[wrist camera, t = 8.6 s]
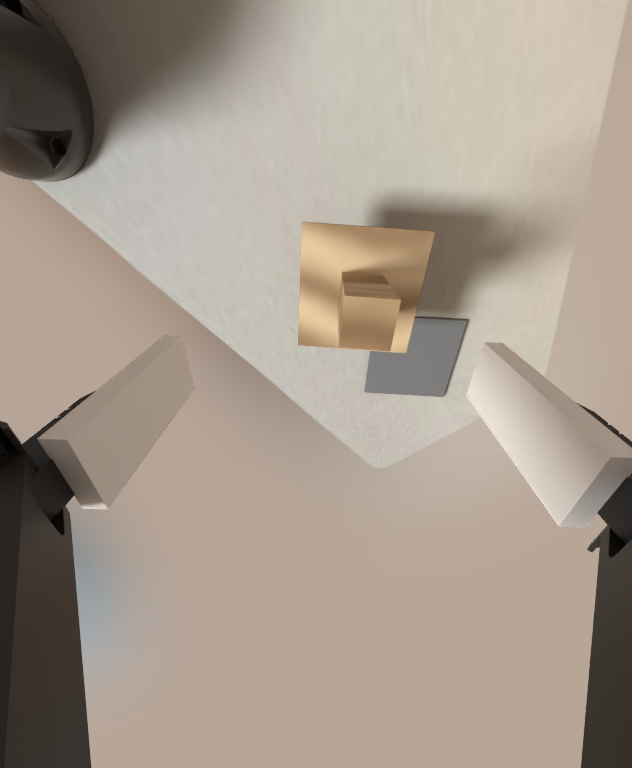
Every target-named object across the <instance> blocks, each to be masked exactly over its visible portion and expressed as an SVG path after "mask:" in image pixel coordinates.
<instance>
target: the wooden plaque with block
mask: <svg viewBox="0 0 632 768" xmlns="http://www.w3.org/2000/svg"><path fill="white" fill-rule="evenodd" d="M434 235H435V232H434V231H424V230H410V229H396V228H383V227H369V226H355V225H341V224H327V223H313V222H302V241H301V273H300V304H299V335H298V345H304V346H317V347H330V348H343V349H356V350H369V351H382V352H395V353H406V351H407V347H408V343H409V339H410V335H411V330H412V326H413V322H414V318H415V314H416V310H417V306H418V301H419V297H420V293H421V289H422V285H423V281H424V277H425V272H426V268H427V264H428V260H429V256H430V252H431V247H432V243H433V239H434Z"/></svg>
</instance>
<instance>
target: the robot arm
mask: <svg viewBox="0 0 632 768" xmlns="http://www.w3.org/2000/svg"><path fill="white" fill-rule="evenodd" d="M92 136H93V117H92V108H91V103H90V98H89V94H88V90H87V87H86V84H85V81H84V78H83V75H82V73H81V70H80V68H79V65H78V63H77V61H76V59H75V57H74V55H73V53H72V51H71V49H70V48H69V46H68V44H67V43H66V41H65V39H64V38H63V36H62V35H61V33H60V32H59V30H58V29H57V28H56V26H55V25H54V24H53V22H52V21H51V20H50V19H49V18H48V16H47V15H46V14H45V13H44V12H43V11H42V10H41V9H40V7H39V6H38V5H36V4H35V3H34V2H33V1H32V0H0V171H1V172H3V173H5V174H8V175H11V176H14V177H17V178H21V179H27V180H35V181H46V182H53V181H60V180H63V179H66V178H68V177H70V176H72V175H73V174H74V173H76V172H77V171H78V170H79V169H80V168H81V166H82V165H83V164H84V162H85V160H86V158H87V156H88V154H89V151H90V147H91V143H92ZM194 389H195V388H194V384H193V380H192V376H191V372H190V368H189V364H188V361H187V356H186V352H185V348H184V344H183V340H182V336H163V337H162V338H161V339H159V340H158V341H157V342H156V343H154V344H153V345H152V346H151V347H150V348H148V349H147V350H146V351H145V352H143V353H142V354H141V355H140V356H138V357H137V358H136V359H135V360H134V361H132V362H131V363H130V364H129V365H127V366H126V367H125V368H124V369H123V370H121V371H120V372H119V373H118V374H116V375H115V376H114V377H113V378H111V379H110V380H109V381H108V382H106V383H105V384H104V385H103V386H102V387H101V388H99V389H98V390H97V391H94V392H92V393H90V394H88V395H86V396H84V397H82V398H80V399H79V400H78V401H76V402H75V403H74V404H73V405H71V406H70V407H69V408H68V410H65V411H64V412H62V413H61V414H60V415H59V416H58V418H55V419H54V420H52V421H51V422H50V423H48V424H47V425H46V426H45V427H43V428H42V429H41V430H40V431H38V432H37V433H36V434H35V435H33V436H32V437H31V438H29V439H28V440H27V441H26V442H24V443H23V444H21V442H20V441H19V439H18V438H17V437H16V435H15V434H14V433H13V431H12V429H11V428H10V427H9V425H8V424H7V423H5V422H1V421H0V768H91V760H90V748H89V735H88V723H87V711H86V700H85V688H84V676H83V664H82V653H81V640H80V628H79V616H78V604H77V593H76V580H75V568H74V558H73V557H74V556H73V546H72V545H73V544H72V533H71V521H70V513H69V511H68V509H67V508H66V506H65V505H66V504H67V503H68V502H69V501H70V499H71V498H72V497H73V496H75V497H76V499H77V500H78V502H79V503H80V505H81V506H82V508H89V509H108V508H109V507H110V506H111V504H112V503H113V501H114V500H115V499H116V497H117V496H118V495H119V493H120V492H121V490H122V489H123V488H124V486H125V485H126V483H127V482H128V480H129V479H130V478H131V476H132V475H133V474H134V472H135V471H136V469H137V468H138V466H139V465H140V464H141V463H142V461H143V460H144V458H145V457H146V456H147V454H148V453H149V451H150V450H151V449H152V447H153V446H154V444H155V443H156V442H157V440H158V439H159V437H160V436H161V435H162V433H163V432H164V431H165V429H166V427H167V426H168V425H169V424H170V422H171V420H172V419H173V418H174V416H175V415H176V414H177V412H178V411H179V409H180V408H181V407H182V405H183V404H184V403H185V401H186V400H187V398H188V397H189V396H190V394H191V393H192V391H193V390H194ZM466 396H467V398H468V399H469V401H470V402H471V403H472V405H473V406H474V408H475V409H476V410H477V412H478V413H479V415H480V416H481V417H482V419H483V420H484V422H485V423H486V424H487V426H488V427H489V429H490V430H491V431H492V433H493V434H494V436H495V437H496V439H497V440H498V441H499V443H500V444H501V446H502V447H503V448H504V450H505V451H506V453H507V454H508V455H509V457H510V458H511V460H512V461H513V463H514V464H515V465H516V467H517V468H518V469H519V471H520V472H521V474H522V475H523V477H524V478H525V479H526V481H527V482H528V484H529V485H530V486H531V488H532V489H533V491H534V492H535V494H536V495H537V496H538V498H539V499H540V501H541V502H542V503H543V505H544V506H545V507H546V509H547V510H548V512H549V513H550V515H551V516H552V517H553V519H554V520H555V522H556V523H557V524H558V526H559V527H585V528H586V527H587V526H588V525H589V524H590V522H591V521H592V520H593V519H594V518H595V517H596V515H597V514H599V515H600V516H601V518H602V519H603V520H604V521H605V522H606V523H607V526H606V528H605V529H604V530H603V531H602V532H601V533H600V534H599V535H598V537H597V538H596V539H595V540H594V541H593V542H592V543H591V544H590V546H589V548H588V550H589V551H590V552H593V551H594V550H595V549H596V548H598V547H600V552H599V564H598V576H597V587H596V599H595V611H594V622H593V635H592V646H591V658H590V669H589V682H588V693H587V705H586V716H585V727H584V739H583V751H582V763H581V768H632V442H631V441H630V440H629V439H628V438H626V437H625V436H624V435H623V434H619V431H618V430H616V429H615V428H614V427H612V426H611V425H608V423H607V422H606V421H605V420H604V419H602V418H601V417H600V416H599V415H597V414H596V413H595V412H593V411H591V410H589V409H587V408H586V407H584V406H582V405H580V404H578V403H576V402H575V401H573V400H572V399H571V398H569V397H568V396H567V395H566V394H565V393H563V392H562V391H561V390H560V389H558V388H557V387H556V386H555V385H554V384H552V383H551V382H550V381H549V380H547V379H546V378H545V377H544V376H542V375H541V374H540V373H539V372H538V371H536V370H535V369H534V368H533V367H531V366H530V365H529V364H528V363H526V362H525V361H524V360H523V359H522V358H520V357H519V356H518V355H517V354H515V353H514V352H513V351H512V350H510V349H509V348H508V347H507V346H505V345H504V344H503V343H484V344H483V347H482V350H481V353H480V356H479V359H478V362H477V365H476V368H475V371H474V374H473V377H472V380H471V383H470V386H469V389H468V392H467V395H466Z"/></svg>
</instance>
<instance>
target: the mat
mask: <svg viewBox="0 0 632 768" xmlns="http://www.w3.org/2000/svg"><path fill="white" fill-rule="evenodd" d="M466 323H467V320H461V319H442V318H422V317H415V318H414V322H413V326H412V330H411V335H410V339H409V343H408V347H407V351H406V353H395V352H382V351H370V356H369V363H368V370H367V377H366V384H365V392H368V393H385V394H403V395H420V396H437V397H444V394H445V390H446V387H447V384H448V381H449V378H450V374H451V371H452V368H453V365H454V362H455V358H456V355H457V352H458V349H459V346H460V342H461V339H462V336H463V333H464V330H465V327H466Z"/></svg>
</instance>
